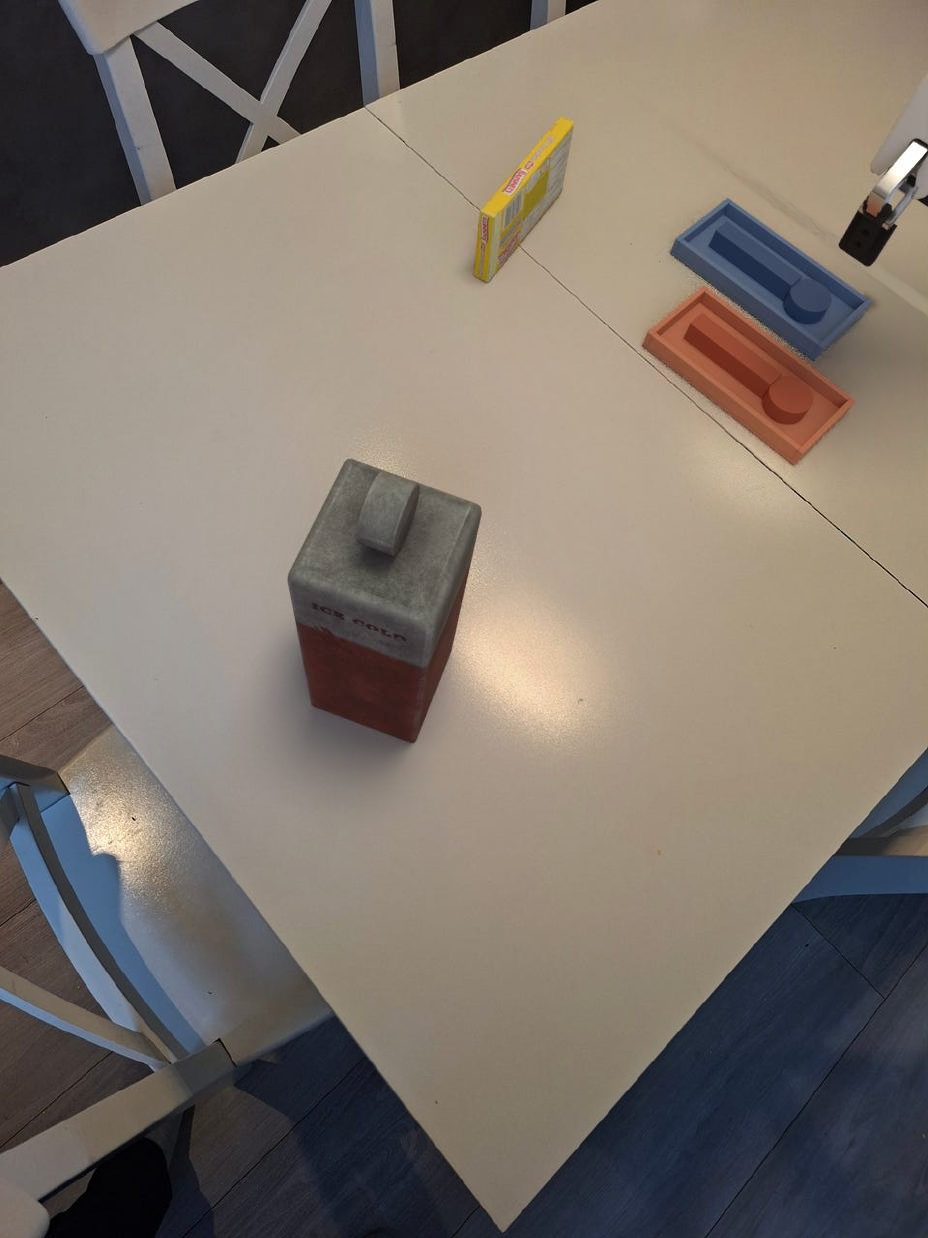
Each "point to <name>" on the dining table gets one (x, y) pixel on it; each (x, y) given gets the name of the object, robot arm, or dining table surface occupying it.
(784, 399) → the terracotta spoon
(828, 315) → the blue tray
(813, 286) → the blue spoon
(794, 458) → the terracotta tray
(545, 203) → the candy box
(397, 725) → the red grey lidded canister
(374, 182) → the dining table surface
